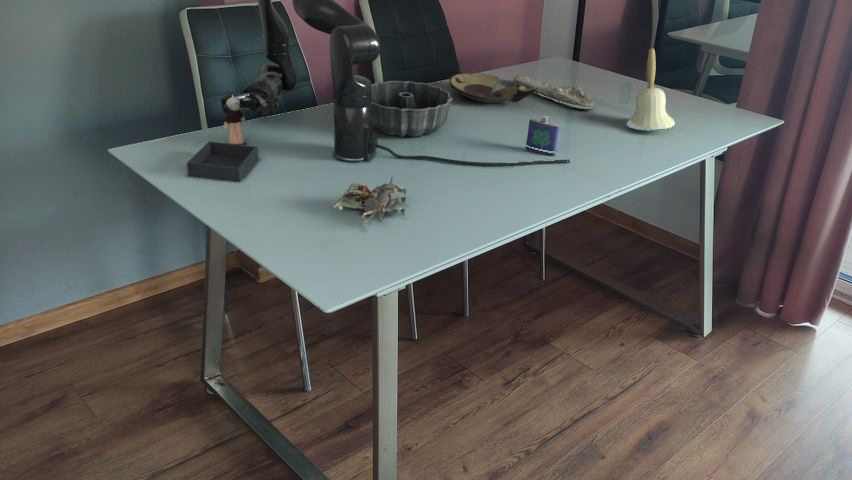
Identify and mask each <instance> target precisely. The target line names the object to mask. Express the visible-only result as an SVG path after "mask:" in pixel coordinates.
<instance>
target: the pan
mask: <svg viewBox="0 0 852 480" xmlns="http://www.w3.org/2000/svg"><path fill="white" fill-rule="evenodd" d="M259 159H260V157H259V147H258V146H257V145H256V146H254V145H248V144H247V145H246V144H243V145H238V144H229V142H228V143H227V142H218V141H208V142H206V143H205V145H203V146H202V148H200V149H199V150H198V151H197V152H195V154H194V155H193V156H192V157H191V158H190V159H189V160H188V161H187V162H186V170H187V176H188V177H190V178H191V177H192V178H201V179H202V178H203V179H210V180H218V181H219V180H220V181H227V182H228V181H230V182H239V183H240V182H241V181H242V180H243V179H244V178H245V176H246V175H247V174H248V173H249V172H250V171H251V169H252V168H253V167H254V166H255V164H256V163H257V162H258V161H259Z"/></svg>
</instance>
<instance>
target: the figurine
mask: <svg viewBox="0 0 852 480" xmlns="http://www.w3.org/2000/svg"><path fill="white" fill-rule="evenodd" d="M393 178H394V177H393V175H391V177H390V181H389V183H383V184H381V185H380V186H379V185H377V186H376V187H375V188H373V189H372V190H371V189H370V188H368V185H363V184H358V183H351V184H350V185H349V188H348V189H347V190H346V191H345V192H344V193H343V194H342V195H341V197H340V198H339V199H338V200H337V201H335V202H334V203H333V204H332V205H331V206H329V210H331V209H336V208H337V209H338V211H342V210H344V208H347V209H350V210H351V209H352V210H356V211H359V210H361V211H360V214H362V212H363V211H364V212H363V214H362V218H363V219H364V220H363V222H362V228H366V227H367V226H368V224H367V223H368V222H369V221H370V220H371V219H374V220H377V221H379V222H383V221H385V214H390V213H392V214H394V213H398V214H402V215H403V216H406V208H402V207H399V208H391V206H393V205H395V204H397V203H398V204H401V203H404V204H405V205H406V204H407V188H403V186H401V185H396V184H393ZM398 193H401V194H403V195H404V196H398V197H396V198H395V197H394V198H392V195H391V194H398ZM367 215H368V217H367V218H366V217H365V216H367Z"/></svg>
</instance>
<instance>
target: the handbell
mask: <svg viewBox="0 0 852 480" xmlns="http://www.w3.org/2000/svg"><path fill="white" fill-rule="evenodd" d="M656 61H657V60H656V51H655V48H653V47H651V48H649V50H648V55H647V64H646V65H647V66H646V69H647V70H646V71H647V73H646V74H647V82H648V86H647V87H644V88H642V89H640V90H639V91H638V93H637V94H636V97H635V111H634V113H633V114H632V115H631V117H629V119H630V120H631V122H632V123H634V124H636V125H638V126H641V127H645V128H651V129H665V130H668V129H667V128H669V129H671V128H673V127H674V126H675V123H676V122H675V120H674V119H673V118H672V117H671V116H670V115H669V113H667V110H666V103H667V102H666V101H667V100H666V93H665V91H664V90H663V89H661V88H659V87H656V86H654V85H655V78H656V72H657V71H656V68H657V67H656ZM672 126H673V127H672ZM670 127H671V128H670Z"/></svg>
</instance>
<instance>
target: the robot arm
mask: <svg viewBox="0 0 852 480" xmlns="http://www.w3.org/2000/svg"><path fill="white" fill-rule="evenodd" d="M256 1H257V6H258V10H259V15H260V20H261V26H262V33H263V49H264V50H263V51H264V56H265V58H266V59H267V60H268V61H270V62H272V63H264V64H263V65H262V66H261V68H260V72H259V77H258V78H256V79H254V80H253V81H252V82H251V83H249V84H248V85H247V86H246V87H244V89H243V91H242V94H239V95H235V96H234V93H233V92H228V93H227V94H226V95H224V96H223V97H222V98H220V103H221V109H222V112H224V114H225V115H227V114H228V112H229V111H231V110H230V109H229V107H228V106H227V104H226V102H227V100H228V99H229V98H231V97H234V98H237V99H239V101H240V104H239V109H238V110H240V111H242V110H252V111H255V112H256V118H261V117H263V116H265V115H267V114H269V113H270V115H274V114H276V112H277V111H278V110H279V109H280V100H279V98H278V96H279V95H280V94H281V93H282V91H286V92H290V91H292V90H294V89H295V87H296V85H297V81H298V79H297V78H298V77H297V72H296V68H295V67H294V64H293V61H292V58H291V53H290V35H289V31H288V27H287V25H286V23H285V22H284V20H283V19H282V18H281V16H280V15H279V13H278V12H277V10H276V9H275V7H274V6H273V3H272V0H256ZM291 2H292V7H293V10H294V12H295V13H296V15H297V16H298V17H299V18H300V19H302V20H303V22H305V24H307V26H309V27H311V28H313V29H314V30H316V31H319V32H321V33H324V34H327V35H329V55H330V56H329V57H330V69H331V70H330V71H331V72H330V73H331V79H332V84H333V121H334V122H333V124H334V125H333V135H334V136H333V139H334V141H333V143H334V147H333V149H334V150H333V156H334V157H335V158H336V159H338V160H340V161H344V162H352V163H358V162H368V161H369V160H370V158H371V157H372V154H376V151H377V149H380V150H384V151H386V152H388V153H390V154H391V156H393V157H395V158H397V159H401V160H402V159H403V160H430V161H437V162H443V163H444V162H445V163H448V164H449V163H450V164H458V165H468V166H480V167H481V166H483V167H507V166H510V167H511V166H526V165H543V164H568V162H569V164H570V163H571V160H570V159H553V160H554V161H543V160H532V161H533V162H527V161H517V162H518V163H506V162H487V161H486V162H483V161H482V162H481V161H469V160H468V161H467V160H457V159H449V158H444V157H439V156H438V157H437V156H430V155H402V154H399V153H396V152H395V151H393V149H391V148H390V147H386V146H385V145H381V144H378V140H379V139H378V136H373V127H372V119H371V84H372V83H371V80H370V79H368V78H367V77H365V76H362V75H359V74H356V73H355V72H354V66H357V65H364V64H365V65H366V64H369V63H372V62H374V61H376V60H377V59H378V58H379V55H380V54H381V43H380V39H379V37H378V35H377V33H376V31H375V30H374V29H373V28H372V27H371V26H370V25H369V24H368V23H365V22H364V21H363V20H361V19H360V18H358V17H356V16H355V15H353V14H352V13H350V12H349V11H348V10H347V9H346V8H344V7H343V6H342V5H341V4H339V3H338V2H337V1H336V0H292V1H291ZM569 160H570V161H569ZM567 161H568V162H567ZM564 162H565V163H564Z"/></svg>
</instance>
